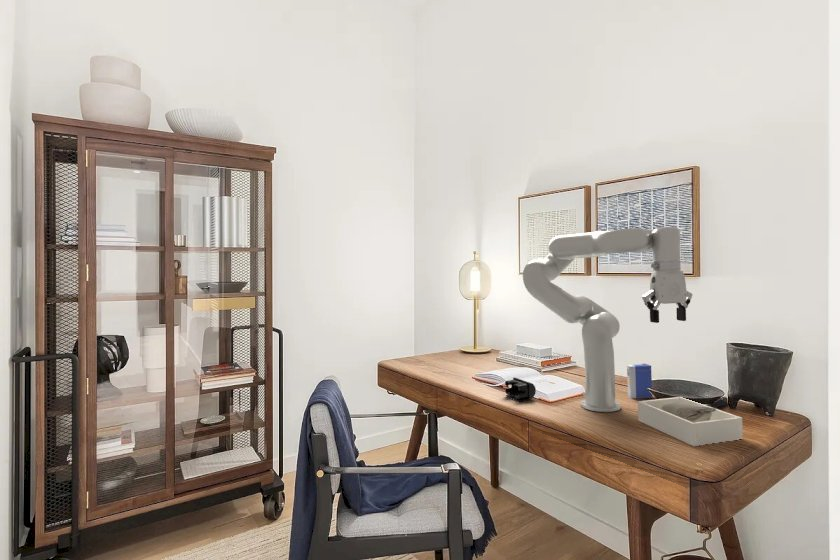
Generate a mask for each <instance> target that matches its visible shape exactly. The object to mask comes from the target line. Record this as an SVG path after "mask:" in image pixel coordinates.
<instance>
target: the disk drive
mask: <svg viewBox="0 0 840 560" xmlns="http://www.w3.org/2000/svg"><path fill="white" fill-rule="evenodd" d="M686 395H690V393H687V394H686ZM727 404H728V397H726V396H722V397H721V398H720V399H718V400H717V401H715V402H714V403H713V404H703V405H706V406H709V407H714V408H717V409H718V408H720V407H722V406H725V405H727Z"/></svg>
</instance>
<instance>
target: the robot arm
mask: <svg viewBox="0 0 840 560" xmlns="http://www.w3.org/2000/svg"><path fill="white" fill-rule="evenodd" d="M680 237H681V235H680V229H679V228H678V227H674V226H670V227H667V226H666V227H665V226H664V227H656V228H655V229H644V228H641V227H639V228H637V227H632V228H621V229H614V230H613V229H612V230H604V231H593V232H582V233H575V234H567V235H566V234H565V235H564V234H563V235H557V236H555V237H553V238H551V240H550V242H549V244H548V247H547V248H548V252H549V254H548V255H547V256H545V258H544V259H543V258H537V259H533V260H530V261H529V262H527V263H526V265H525V266H524V269H523V270H522V281H523V284H524V285H523V286H525V289H526V291H527V292H528V293H529V294H530V295H531V296H532V297H533V298H534V299H535V300H537V301H538V302H539V303H540V304H543V306H545V307H546V308H547V309H549V310H550V311H551V312H553V313H554V314H556V316H558V317H559V318H561V319H562V320H563V321H565V322H567V323H568V324H577V323H579V324H581V325H582V327H581V337H582V338H581V339H582V343H583V352H584V353H583V357H584V358H583V359H584V380H585V381H584V384H585V388H584V389H585V390H583V391H582V393H581V394H582V395H583V396H584V399H583V400H581V402H580V406H581V407H582V408H583V409H586V410H587V411H592V412H599V413H600V412H601V413H613V412H618V411H619V410H620V409H621V404H620V403H619V401H616V375H615V372H616V371H615V352H614V345H613V344H614V343H613V338H614V337H616V336H617V335H618V334H619V332H620V328H621V327H620V322H619V320H618V319H617V317H616V316H615V315H614V314H613V313H612V312H610V311H608V310H607V309H606V308H604V307H603V306H601V305H599V304H598V303H596V302H595V301H593V300H592V299H591V298H589V297H586V296H584V295H572V294H570V293H569V292H568V291H566V290H564V289H563V288H561V287H560V286H558V285H556V284H555V283H553V282H552V281H553V280H555V279H556V278H558V277H559V276H560V275H561V274H562V273H563V272H564V271H565V269H566V268H568V266H570V264H571V263H573V261H574V260H575V259H583V258H584V259H585V258H596V257H597V258H598V257H601V256H604V255H610V254H611V255H612V254H624V253H625V254H626V253H646V252H652V263H651V264H650V267H651V269H653V270H652V272H651V276H650V281H649V282H650V283H649V291H648V292H646V293H645V294H643V295H642V296H641V298H642V300H643V302H644V305H645V306H646V307H647V309H648V310H649V321H650V323H655V324H658V323H660V311H659V309H658V308H659V307H660V305H661V304H662V305H663V304H665V305H667V304H668V305H669V304H676V320H677V321H682V322H687V308H688V307H689V304H690V303H691V300H692V298H693V293H692V292H689V291H688V290H687V283H686V277H685V274H684V271H683V270H681V269H682V268H681V267H682V266H681V238H680Z"/></svg>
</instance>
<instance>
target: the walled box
mask: <svg viewBox="0 0 840 560" xmlns="http://www.w3.org/2000/svg"><path fill="white" fill-rule="evenodd" d="M668 402H674V403H677V404H689V405H694V406H698V407H709V406H706V405H703V404H701V403H698V402H695V401H692V400H689V399H686V398H683V397H681V396H676V397H675V396H674V397H666V398H658V399H648V400H640V401H637V414H638V415H637V416H638V419H637V420H638V422H640V423H642V424H644V425H647V426H648V427H651V428H653V429H655V430H658V431H660V432H661V433H664V434H667V435H669V436H671V437H673V438H674V439H677V440H679V441H681V442H683V443H685V444H688V445H689V446H692V447H698V446H699V445H700V446H706V445H705V444H708V445H713V444H712V443H715V444H720V443H719V442H723V443H725V442H724V441H730V442H733V441H732V440H738V441H740V440H739V439H744V437H743V435H744V434H743V433H744V432H743V417H742V416H738V415H735V414H733V413H729V412H726V411H723V410H721V409H719V408H717V409H716V411H714V412H711V413H712V415H711V418H710V421H702V422H695V423H693V422H691V421H688V420H686V419H683V418H681V417H678V416H676V415H673V414H671V413H668V412H666V411H663V410H661V409H662V407H663V405H664V404H665V403H668ZM709 408H712V407H709ZM700 446H699V447H700Z"/></svg>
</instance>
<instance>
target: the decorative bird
mask: <svg viewBox="0 0 840 560" xmlns="http://www.w3.org/2000/svg"><path fill="white" fill-rule="evenodd" d="M716 409H718V407H717V408H714V407H712V408H709V407H698V406H694V405H689V404H677V403H674V402H668V403H665V404H664V405H663V407H662V409H661V410H663V411H666V412H668V413H671V414H673V415H676V416H678V417H681V418H683V419H686V420H688V421H691V422H693V423H695V422H702V421H710V418H711V415H712V413H711V412H714V411H716Z"/></svg>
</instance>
